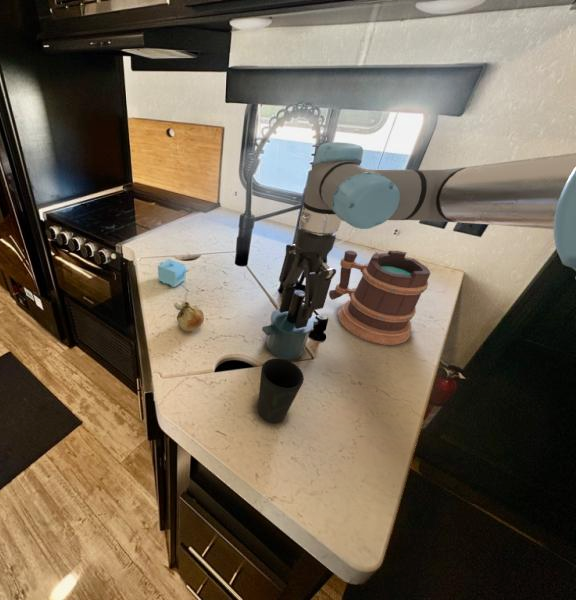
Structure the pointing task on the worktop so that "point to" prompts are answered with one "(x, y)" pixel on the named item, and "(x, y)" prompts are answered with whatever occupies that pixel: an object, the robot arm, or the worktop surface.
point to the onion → (189, 316)
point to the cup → (278, 389)
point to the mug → (381, 296)
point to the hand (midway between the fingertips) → (292, 318)
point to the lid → (291, 316)
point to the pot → (285, 342)
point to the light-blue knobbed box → (172, 272)
